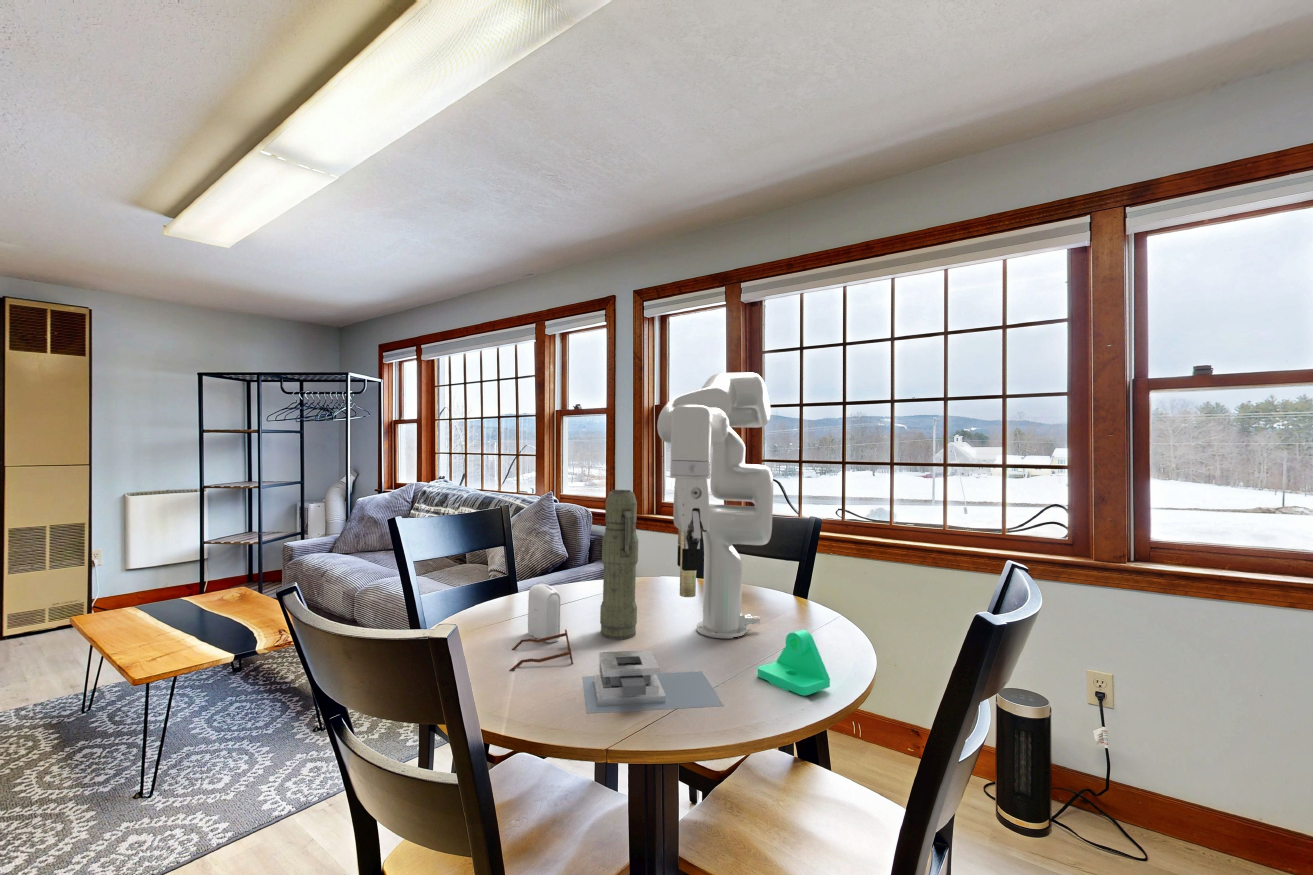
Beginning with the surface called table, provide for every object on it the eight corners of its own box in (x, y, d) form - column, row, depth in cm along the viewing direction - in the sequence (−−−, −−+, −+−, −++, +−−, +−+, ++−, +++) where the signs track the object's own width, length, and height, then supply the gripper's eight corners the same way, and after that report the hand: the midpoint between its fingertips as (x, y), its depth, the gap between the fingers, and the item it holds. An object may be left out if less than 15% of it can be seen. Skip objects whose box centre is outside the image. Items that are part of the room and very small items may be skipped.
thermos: (623, 624, 151) (626, 488, 152) (645, 637, 141) (648, 491, 142) (591, 628, 147) (595, 488, 148) (612, 643, 137) (615, 492, 137)
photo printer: (525, 633, 142) (526, 582, 143) (540, 630, 145) (542, 579, 145) (545, 644, 134) (547, 590, 135) (562, 641, 137) (563, 588, 137)
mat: (701, 674, 119) (701, 671, 119) (724, 709, 103) (724, 705, 103) (582, 679, 115) (582, 676, 115) (586, 716, 99) (586, 713, 99)
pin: (694, 592, 112) (696, 515, 113) (699, 597, 109) (701, 517, 109) (675, 592, 112) (677, 515, 112) (680, 597, 108) (681, 517, 108)
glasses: (573, 669, 121) (574, 645, 121) (508, 673, 118) (509, 648, 118) (569, 648, 134) (569, 626, 134) (510, 651, 131) (511, 628, 131)
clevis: (655, 678, 115) (655, 649, 115) (668, 708, 101) (669, 675, 101) (593, 681, 112) (594, 651, 113) (598, 712, 99) (599, 679, 99)
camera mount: (755, 680, 117) (756, 628, 117) (780, 672, 121) (781, 622, 121) (803, 702, 107) (804, 645, 107) (829, 692, 112) (830, 638, 112)
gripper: (722, 472, 103) (719, 577, 103) (698, 469, 119) (696, 559, 119) (680, 471, 102) (678, 578, 102) (662, 468, 118) (660, 560, 118)
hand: (688, 567), depth 110 cm, fingers closed on pin, 3 cm apart
